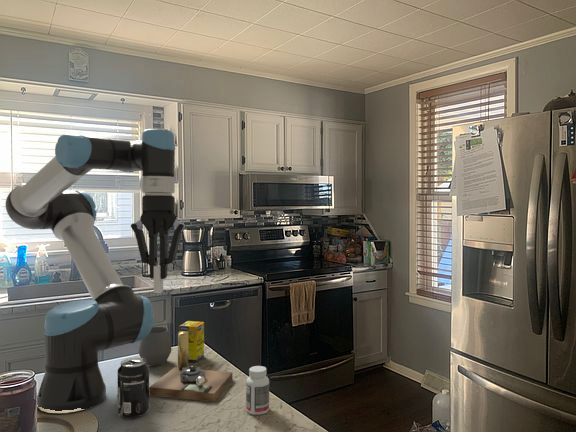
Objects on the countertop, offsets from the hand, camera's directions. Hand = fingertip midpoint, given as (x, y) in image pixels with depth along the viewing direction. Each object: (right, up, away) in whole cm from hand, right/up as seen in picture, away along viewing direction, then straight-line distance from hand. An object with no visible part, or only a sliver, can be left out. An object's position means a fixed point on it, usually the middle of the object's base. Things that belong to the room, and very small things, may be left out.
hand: (158, 292), depth 111 cm
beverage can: (-4, -27, -7) cm, 28 cm away
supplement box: (+2, -26, +30) cm, 40 cm away
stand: (+6, -26, +9) cm, 28 cm away
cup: (-8, -26, +26) cm, 37 cm away
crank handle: (+6, -24, +10) cm, 26 cm away
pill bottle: (+24, -27, -4) cm, 36 cm away
